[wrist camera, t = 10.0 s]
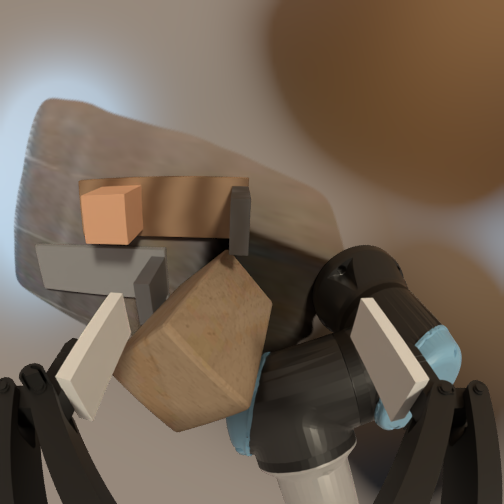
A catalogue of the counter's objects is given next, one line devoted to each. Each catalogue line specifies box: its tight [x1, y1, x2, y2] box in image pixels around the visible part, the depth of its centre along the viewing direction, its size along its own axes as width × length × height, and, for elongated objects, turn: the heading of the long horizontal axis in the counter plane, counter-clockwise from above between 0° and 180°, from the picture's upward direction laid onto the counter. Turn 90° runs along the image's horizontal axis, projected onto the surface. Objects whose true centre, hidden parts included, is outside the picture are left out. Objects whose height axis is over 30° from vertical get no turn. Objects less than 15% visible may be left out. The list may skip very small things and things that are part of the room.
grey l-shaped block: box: [35, 244, 170, 325], centre depth 35 cm, size 24×8×9 cm, turn 87°
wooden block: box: [112, 250, 272, 432], centre depth 31 cm, size 10×10×20 cm
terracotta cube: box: [81, 185, 143, 245], centre depth 32 cm, size 6×6×6 cm
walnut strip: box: [79, 176, 251, 256], centre depth 32 cm, size 24×8×9 cm, turn 87°
